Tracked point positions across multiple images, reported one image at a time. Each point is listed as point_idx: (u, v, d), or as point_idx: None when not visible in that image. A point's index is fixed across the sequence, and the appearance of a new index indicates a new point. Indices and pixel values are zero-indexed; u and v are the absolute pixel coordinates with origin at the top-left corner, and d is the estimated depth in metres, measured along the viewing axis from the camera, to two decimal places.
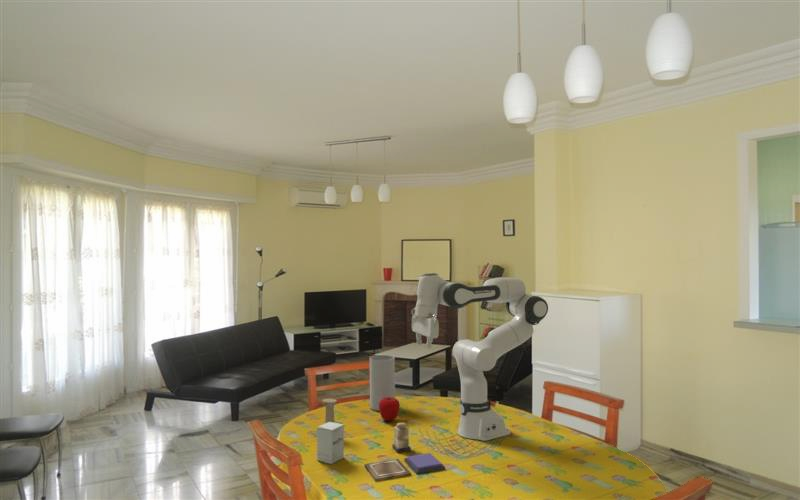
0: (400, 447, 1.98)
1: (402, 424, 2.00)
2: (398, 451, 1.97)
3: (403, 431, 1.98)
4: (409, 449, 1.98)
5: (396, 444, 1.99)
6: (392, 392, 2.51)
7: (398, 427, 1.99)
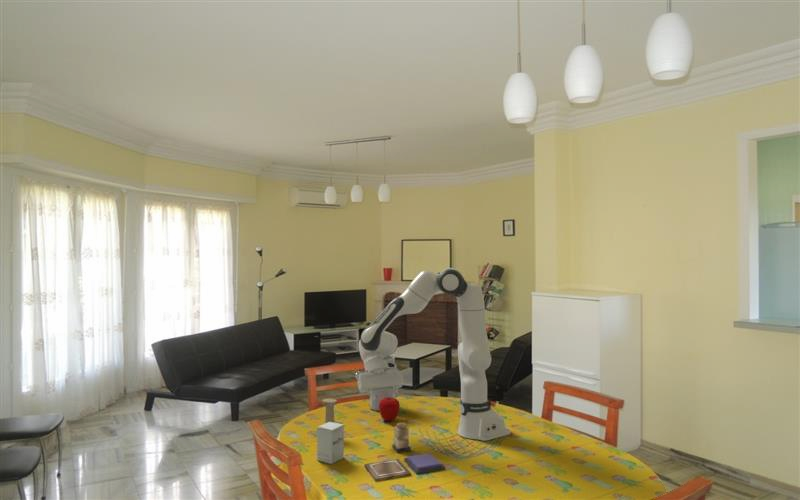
0: (400, 447, 1.98)
1: (402, 424, 2.00)
2: (398, 451, 1.97)
3: (403, 431, 1.98)
4: (409, 449, 1.98)
5: (396, 444, 1.99)
6: (392, 392, 2.51)
7: (398, 427, 1.99)
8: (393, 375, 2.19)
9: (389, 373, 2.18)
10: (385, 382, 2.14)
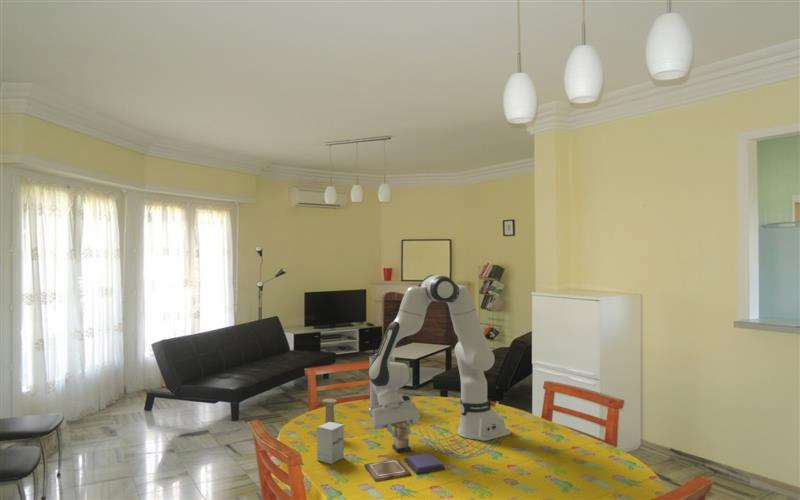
0: (400, 447, 1.98)
1: (402, 424, 2.00)
2: (398, 451, 1.97)
3: (403, 431, 1.98)
4: (409, 449, 1.98)
5: (396, 444, 1.99)
6: None
7: (398, 427, 1.99)
8: (408, 409, 2.07)
9: (404, 407, 2.07)
10: (400, 418, 2.03)
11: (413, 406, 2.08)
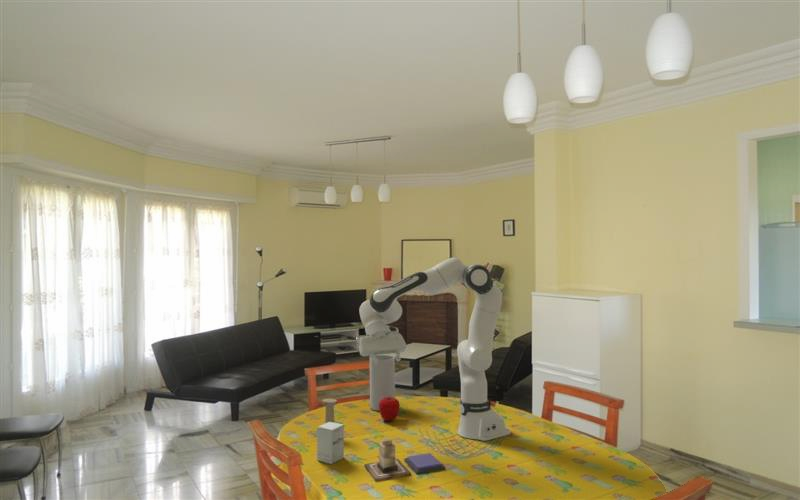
0: (386, 466, 1.78)
1: (388, 440, 1.80)
2: (384, 470, 1.77)
3: (390, 448, 1.79)
4: (396, 468, 1.79)
5: (382, 463, 1.79)
6: (392, 392, 2.51)
7: (384, 444, 1.79)
8: (395, 339, 2.13)
9: (391, 337, 2.13)
10: (387, 346, 2.08)
11: (400, 337, 2.14)
